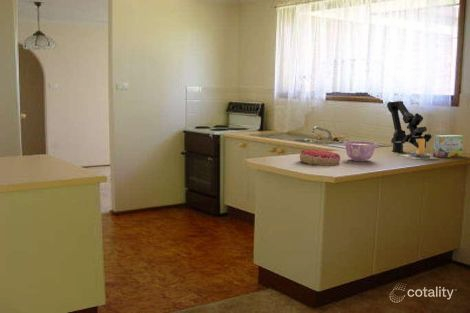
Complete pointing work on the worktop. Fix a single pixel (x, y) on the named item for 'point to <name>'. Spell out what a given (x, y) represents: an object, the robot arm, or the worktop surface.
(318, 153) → the cake
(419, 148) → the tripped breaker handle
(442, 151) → the snack box
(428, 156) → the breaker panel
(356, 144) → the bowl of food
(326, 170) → the worktop surface
